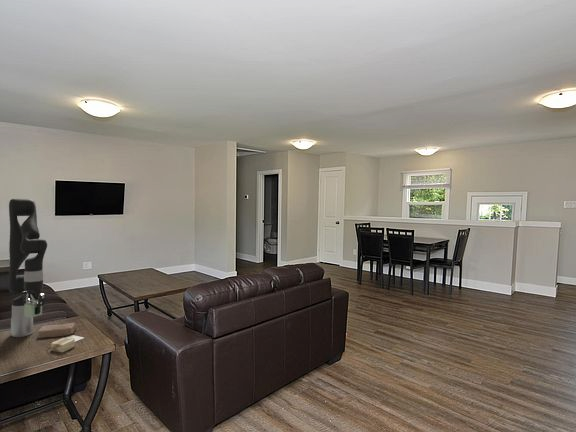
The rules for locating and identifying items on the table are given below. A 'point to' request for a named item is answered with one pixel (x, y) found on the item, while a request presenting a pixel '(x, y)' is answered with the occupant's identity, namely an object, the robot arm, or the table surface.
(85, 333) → the table surface
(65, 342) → the base block
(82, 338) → the page
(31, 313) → the green block
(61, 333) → the brick
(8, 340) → the table surface
